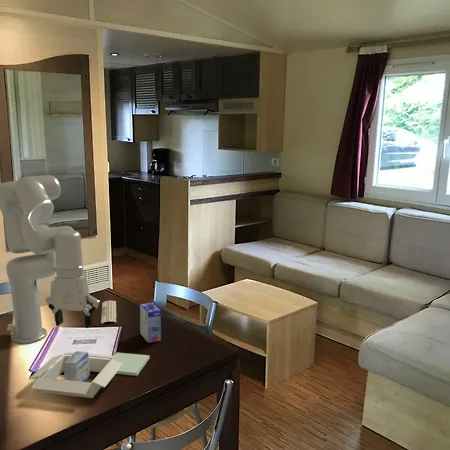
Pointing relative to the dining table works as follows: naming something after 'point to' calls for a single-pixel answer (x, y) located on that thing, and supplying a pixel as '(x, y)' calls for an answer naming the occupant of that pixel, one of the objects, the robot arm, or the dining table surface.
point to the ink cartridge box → (150, 322)
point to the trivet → (131, 363)
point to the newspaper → (108, 311)
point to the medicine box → (77, 367)
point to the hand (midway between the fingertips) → (74, 325)
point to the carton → (75, 388)
